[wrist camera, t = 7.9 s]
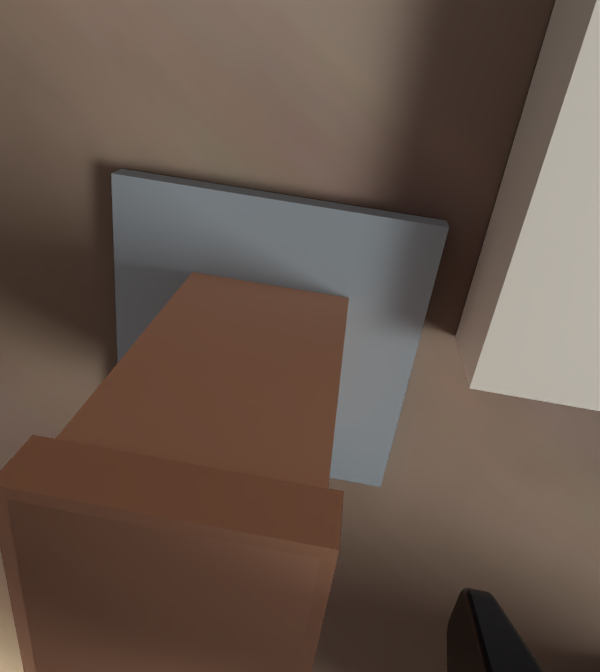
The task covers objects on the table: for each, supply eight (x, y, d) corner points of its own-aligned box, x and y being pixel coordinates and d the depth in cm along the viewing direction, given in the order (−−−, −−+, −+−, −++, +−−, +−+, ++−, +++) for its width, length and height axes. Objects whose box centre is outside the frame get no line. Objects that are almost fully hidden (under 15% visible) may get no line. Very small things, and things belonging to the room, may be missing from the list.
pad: (380, 473, 17) (380, 486, 16) (127, 427, 17) (120, 439, 17) (446, 220, 13) (448, 227, 13) (121, 168, 14) (111, 173, 13)
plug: (331, 432, 16) (295, 742, 9) (180, 405, 16) (26, 688, 9) (358, 291, 14) (340, 550, 7) (184, 263, 14) (-12, 484, 7)
